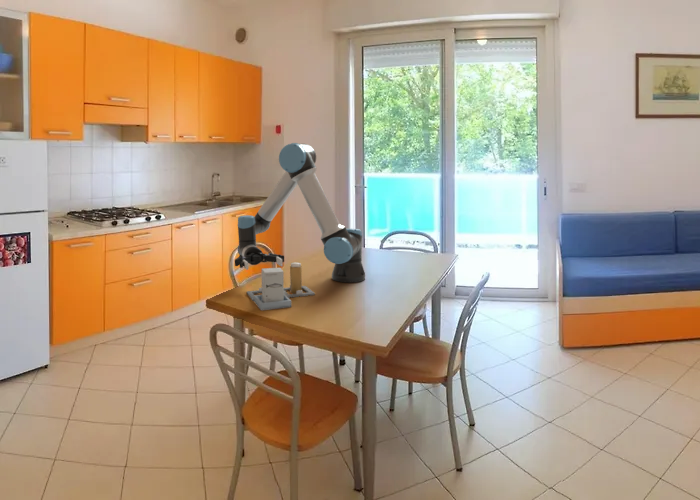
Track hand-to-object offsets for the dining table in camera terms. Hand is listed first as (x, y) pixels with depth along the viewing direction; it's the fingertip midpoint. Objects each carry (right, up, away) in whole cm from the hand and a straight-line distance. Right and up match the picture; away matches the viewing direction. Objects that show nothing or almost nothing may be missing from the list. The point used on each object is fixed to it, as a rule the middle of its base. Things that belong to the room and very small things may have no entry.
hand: (264, 264), depth 201 cm
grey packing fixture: (+5, -12, +7) cm, 15 cm away
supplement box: (+4, -14, -7) cm, 16 cm away
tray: (+4, -15, -7) cm, 17 cm away
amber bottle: (+11, -12, +9) cm, 19 cm away
